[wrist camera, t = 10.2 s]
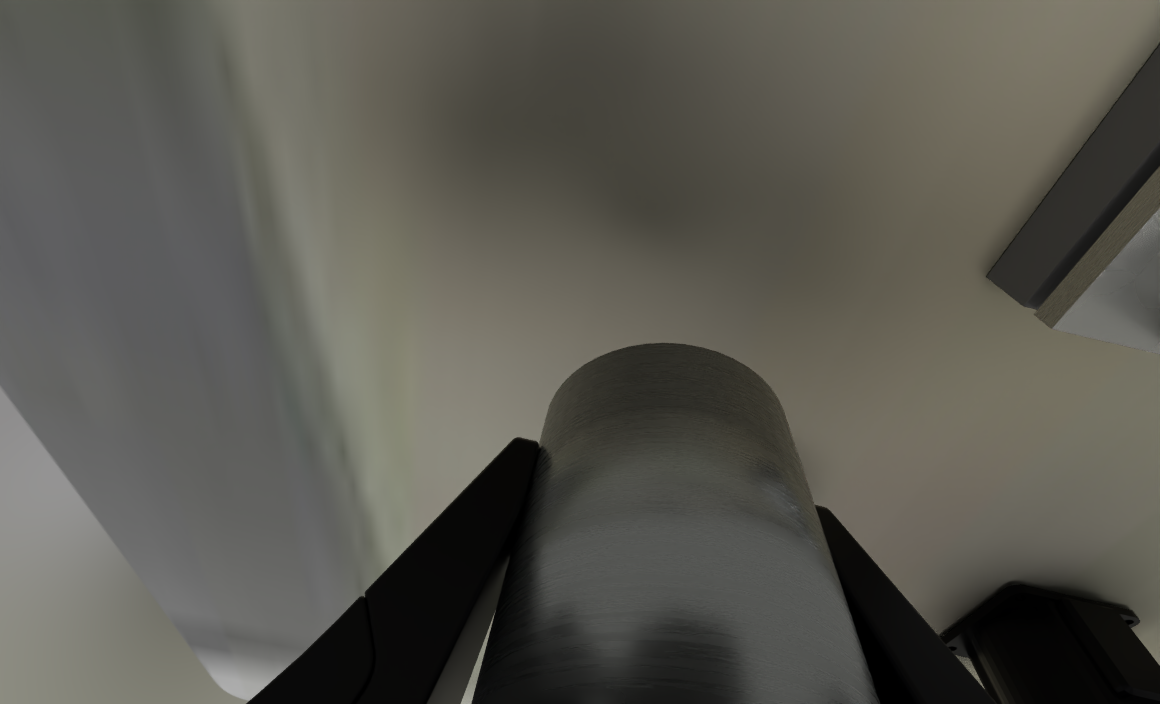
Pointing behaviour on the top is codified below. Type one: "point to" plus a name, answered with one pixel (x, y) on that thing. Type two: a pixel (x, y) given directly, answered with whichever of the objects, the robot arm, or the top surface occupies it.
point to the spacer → (670, 549)
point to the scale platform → (1116, 280)
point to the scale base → (1087, 194)
